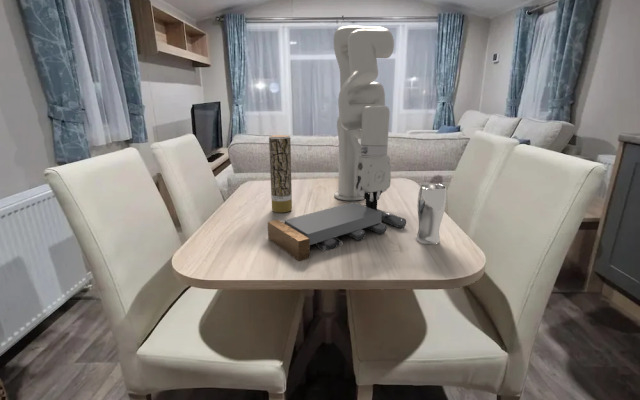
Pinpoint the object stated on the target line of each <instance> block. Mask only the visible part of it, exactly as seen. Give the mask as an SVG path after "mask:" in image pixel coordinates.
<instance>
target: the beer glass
mask: <svg viewBox="0 0 640 400" xmlns="http://www.w3.org/2000/svg"><path fill="white" fill-rule="evenodd" d="M446 203H447V186H446V185H444V184H441V183H421V184H420V185H419V190H418V196H417V205H416V206H417V217H418V230H417V234H416V237H415V239H416V242H418V243H420V244H422V243H423V245H427V244H435V245H437V244H436V243H438V244H439V243H440V242H441V238H440V227H441V223H442V220H443V217H444V214H445V210H446Z"/></svg>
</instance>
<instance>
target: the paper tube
mask: <svg viewBox="0 0 640 400" xmlns="http://www.w3.org/2000/svg"><path fill="white" fill-rule="evenodd" d="M268 144H269V147H268V148H269V149H268V150H269V169H270V170H269V171H270V172H269V173H270V193H271V194H270V196H271V210H272V211H273V212H274V213H280V214H282V213H283V214H284V213H288V212H290V211H292V210H293V205H292V204H293V201H292V200H293V199H292V197H293V196H292V191H293V190H292V188H293V187H292V158H291V157H292V155H291V154H292V152H291V151H292V149H291V146H292V145H291V135H289V134H288V135H287V134H272V135H269V137H268Z"/></svg>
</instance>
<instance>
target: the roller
mask: <svg viewBox="0 0 640 400" xmlns="http://www.w3.org/2000/svg"><path fill="white" fill-rule="evenodd" d="M321 242H322V243H323V244H325V245H326V250H328V251H330V250H333V249H336V248H337V246H338V245H337V241H336V240H335V239H333V238H331V239H328V240H324V241H321Z"/></svg>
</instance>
